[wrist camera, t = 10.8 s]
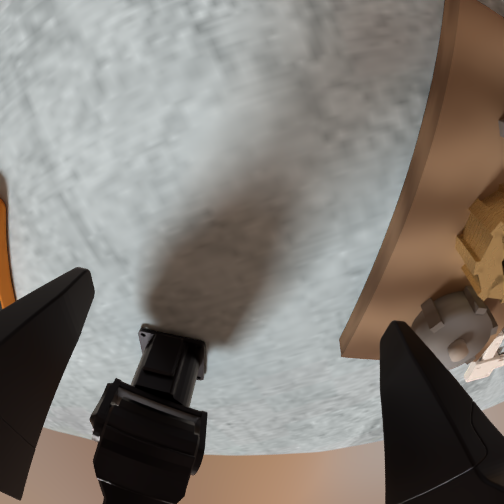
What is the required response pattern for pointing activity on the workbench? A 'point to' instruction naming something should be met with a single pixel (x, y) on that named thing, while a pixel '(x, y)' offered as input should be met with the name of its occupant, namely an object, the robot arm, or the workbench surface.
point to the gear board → (442, 202)
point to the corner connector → (486, 361)
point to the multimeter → (4, 263)
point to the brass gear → (484, 246)
